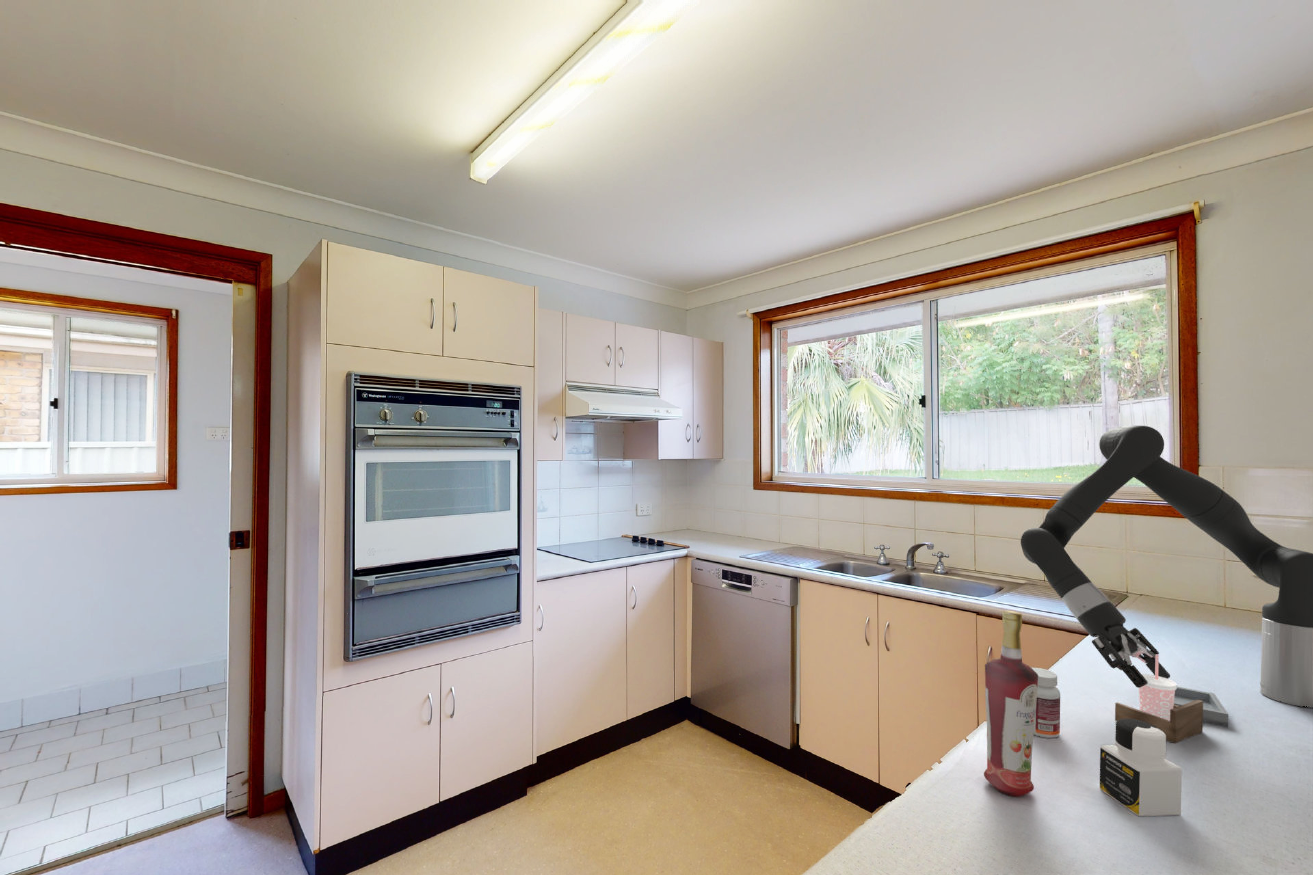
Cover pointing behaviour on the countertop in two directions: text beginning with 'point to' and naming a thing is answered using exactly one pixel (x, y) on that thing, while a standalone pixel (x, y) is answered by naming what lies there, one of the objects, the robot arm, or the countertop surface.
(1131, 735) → the medicine bottle
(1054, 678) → the pill bottle
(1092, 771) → the countertop surface
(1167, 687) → the beverage cup
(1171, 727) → the walnut bay
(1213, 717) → the grey tray
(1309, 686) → the robot arm
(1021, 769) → the liquor
